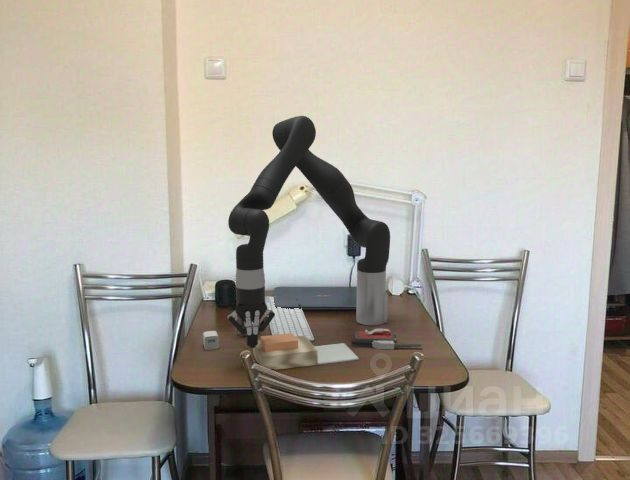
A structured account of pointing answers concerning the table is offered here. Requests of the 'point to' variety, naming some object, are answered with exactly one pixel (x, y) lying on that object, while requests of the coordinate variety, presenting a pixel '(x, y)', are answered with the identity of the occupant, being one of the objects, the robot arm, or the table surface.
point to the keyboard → (288, 321)
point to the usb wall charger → (210, 340)
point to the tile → (279, 342)
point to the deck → (288, 355)
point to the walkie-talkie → (378, 339)
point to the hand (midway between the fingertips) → (252, 346)
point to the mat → (334, 353)
